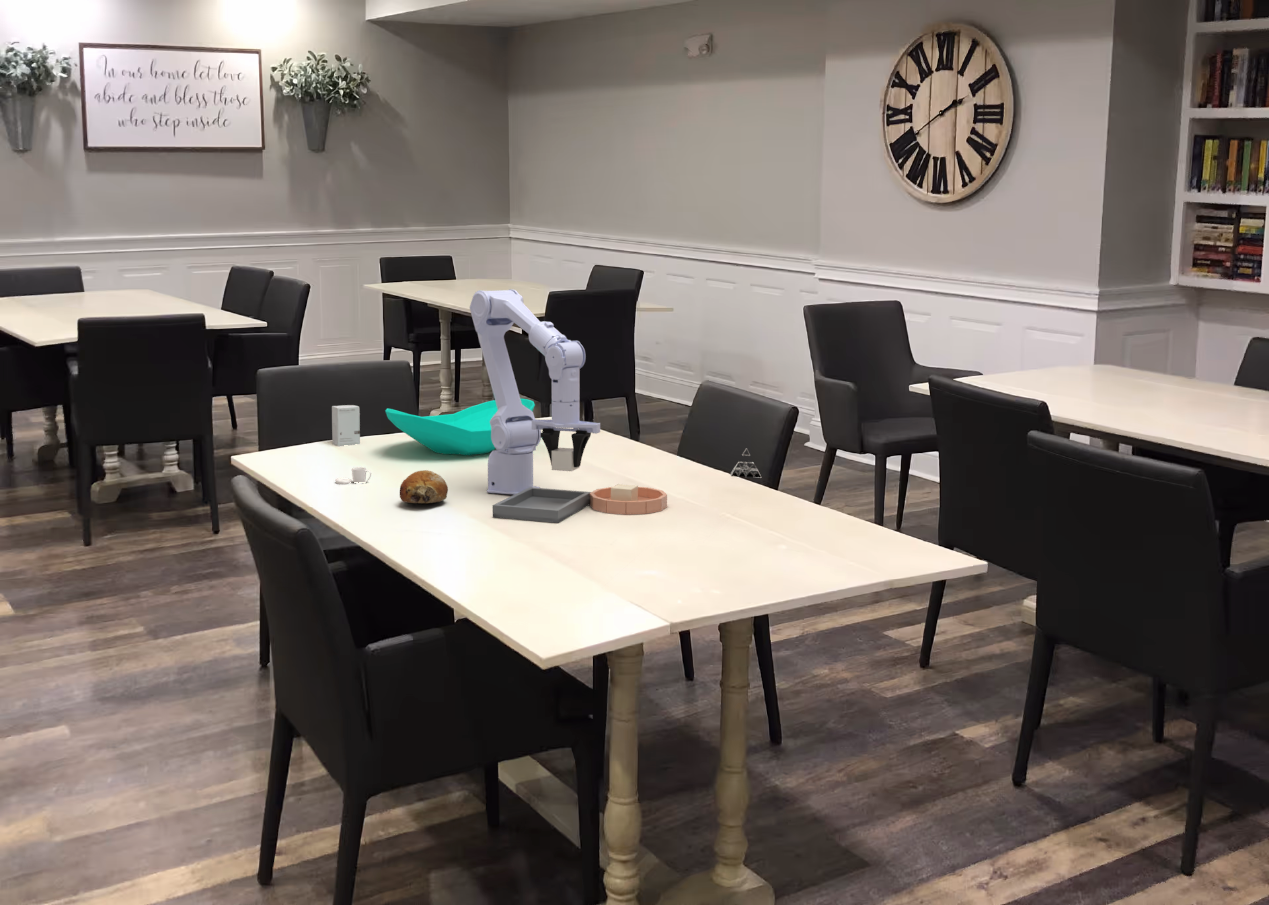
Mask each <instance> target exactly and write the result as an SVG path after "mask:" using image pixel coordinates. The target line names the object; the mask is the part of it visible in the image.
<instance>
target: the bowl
mask: <svg viewBox="0 0 1269 905" xmlns="http://www.w3.org/2000/svg"><path fill="white" fill-rule="evenodd" d="M612 487H613V486H608V487H603V488H596V489H595V490H593V491H590V492H591V493H590V505H589V506H590V507H591V509H592V510H593V511H598V512H600V513H601V512H602V513H604V514H615V515H629V516H630V515H647V514H652V513H657V512H658V513H659V512H661V511H663V510H665V509H666V508H667V507H668V494H667V493H666V492H665V491H664V490H661V489H657V488H653V487H649V486H648V487H647V486H646V487H645V486H638V501H617V500H611V488H612Z"/></svg>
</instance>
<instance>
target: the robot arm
mask: <svg viewBox="0 0 1269 905" xmlns="http://www.w3.org/2000/svg"><path fill="white" fill-rule="evenodd" d="M469 311H470V314H471V318H472V322H473V326H474V330H475V332H476V334H477V337H478V343H479V345H480V349H481V353H482V357H483V360H484V364H485V368H486V371H487V375H488V379H489V383H490V387H491V390H492V394H493V398H494V400H495V401H496V405H497V409H498V411H497V412H496V413H495V415H494V416H493V417H492V419H491V420H490V425H491V439H492V443H493V445H494V447H495V449H494V450H492V451H490V452H489V455H488V460H487V490H486V492H487V493H492V494H500V495H501V494H502V495H515V494H517V493H519V492H521V491H523V490H525V489H527V488H529V487H533V488H541V487H540V486H537V485H536V486H535V485H534V451H537V446H538V445H539V444H540V442H541V440H542V441H543V444H544V445H545V447H546V450H547V453H548V457H549V460H550V466H551V467H552V451H553V450H555V449H557V448H559V443H560V442H559V441H560V434H561V432H572V433H571V441H572V448H573V451H574V455H573V464H574V467H579V468H580V467H581V463H582V458H583V454H584V452H585V449H586V446H587V444H588V442H589V439H590V438H591V434H600V433H601V422H592V421H586V420H585V421H584V420H580V412H581V411H580V406H581V405H580V396H581V395H580V389H581V388H580V371H581V370H580V369H581V368H583V367H584V365H585V363H586V359H587V358H586V357H587V356H586V350H585V348H584V346H583V345H582V344H581V342H580V341H579V340H571V339H568V338H567V336H566V335H565V334H562V333H561V332H560V331H559V330H558V329H557V328H555V327H554V326H555V325H554V323H553V322H551V321H545V320H544V321H540V320H539V318H537V317H536V315H534V313H533V312H532V311H531V310H530V308H528V307H527V305H525V303H524V297H523V295H521V294H519V292H518V291H517V290H516V289H513V288H512V289H511V288H510V289H505V290H503V289H501V290H483V289H482V290H477V291H475V292H474V293H473V296H472V299H471V301H470V305H469ZM514 324H515V325H516V326H518V327H519V328H521V329H522V330H523V331H525V332H526V333H527V334H528V341H529V343H530V344H531V345H532V346H533V347H534V348H536V350H537V351H538V352H540V353H541V354H542V355H543V356H544V358H545V363H546V366H547V369H548V376H549V378H550V379H551V419H537V418H535V415H534V414H535V413H534V411H533V412H532V411H531V410H530V409H528V408H527V407H525V406H524V405H522V403H521V399H522V398H521V396H520V392H519V389H518V385H517V381H516V379H515V374H514V371H513V367H512V363H511V359H510V356H509V352H508V348H507V345H506V341H505V334H506V332H508V331H510V330H511V328H512V326H513V325H514ZM520 398H521V399H520Z"/></svg>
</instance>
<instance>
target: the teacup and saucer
mask: <svg viewBox="0 0 1269 905" xmlns="http://www.w3.org/2000/svg"><path fill="white" fill-rule="evenodd" d="M368 472H369V477H368V479H367V473H368ZM351 476H352V479H350V478H348V477H336V478H335V484H337V485H349V484H348V483H350V482H352V483H353V482H358V483H359V482H366V483H368V482H369V481H370V479H371V477H372V472H371V470H369V469H367V468H366V467H362V466H359V467H358V466H357V467H353V468H351ZM350 484H351V483H350Z"/></svg>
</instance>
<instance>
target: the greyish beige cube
mask: <svg viewBox="0 0 1269 905" xmlns="http://www.w3.org/2000/svg"><path fill="white" fill-rule="evenodd" d="M573 455H574V451H573V447H572V448H571V447H558V448H557V449H555V450H553V451H552V466H551V470H552V471H558V472H559V471H560V472H561V471H562V472H574V471H575V470H578V469H580V466H579V467H574V464H573Z"/></svg>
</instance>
